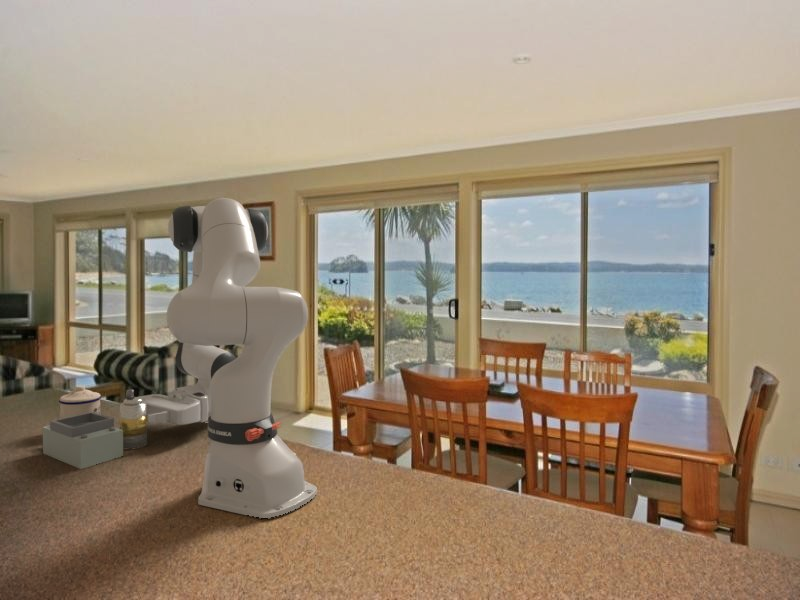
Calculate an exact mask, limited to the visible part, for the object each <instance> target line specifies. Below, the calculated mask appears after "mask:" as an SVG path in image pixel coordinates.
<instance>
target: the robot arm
mask: <svg viewBox="0 0 800 600" xmlns="http://www.w3.org/2000/svg"><path fill="white" fill-rule="evenodd" d="M167 232H168V235H169V239H170V241H171V242H172V245H173V246H174V248H175V249H177V250H179V251H183V252H187V253H192V252H193V254H192V255H193V257H192V278H191V284H190V285H188V286H187V287H184V288H183V289H181V290H179V291H178V292H176V294H175V295H173V297H172V298H171V300H170V302H169V304H168V306H167V311H166V323H167V327H168V329H169V331H170V333H171V334H172V336H173V337H174V338H175V339H176V340H177V341H178V342H179V343H178V344H179V345H178V347H177V351H176V353H175V364H176V367H177V369H178V370H179V371H180V372H181V373H182V374H185V375H188V376H191V377H193V378H196V379H197V382H195V383H194V384H189V385H185V386H181V387H176V388H175V389H174V390H172V393H171V394H170V395H165V394H162V393H153V394H147V395H142V396H141V395H139V397H141V398H143V401H146V409H147V415H146V416H145V422H147V424H152V423H160V422H162V423H163V422H166V423H170V424H173V425H174V424H175V425H177V426H183V425H190V424H194V423H204V422H207V437H208V438H209V446H208V449H207V451H206V455H205V460H204V470H203V479H202V486H201V487H202V488H201V492H200V495H199V496H198V497H197V498H198V499H197V504H198V505H199V506H203V507H206V508H207V507H208V508H212V509H217V510H221V511H226V512H229V513H235V514H240V515H242V516H243V515H244V516H247V515H249V516H248V517H252V516H254V517H253V518H256V517H259V518H258V519H261V518H268V519H272V518H271V517H274V516H277V517H280V516H279V515H281V516H284V515H286V514H288V512H289V513H291V512H294V511H296V510H298V509H299V508H301V507H303V506H305V505H306V504H308V503H309V502H310V500H311V499H312V500H313V499H314V498H315V497H316V496H317V494H318V487H317V486H316V485H314V484H313V483H310V482H308V481H306V480H305V469H304V465H303V462H302V460H301V459H300V458H299V457H298V456H297V454H296V453H295V452H294V451H292V450H291V449H290V448H289V446H288V445H287V444H286V443H285V442H284V441H283V440H282V439H281V438H280V436H279V435H278V429H279V428H282V425H281V423H282V421H278V422H276V421H275V419H274V415H273V413H272V412H271V406H272V405H271V400H272V399H271V398H272V397H271V396H272V384H273V376H274V372H275V370H276V369H275V368H276V366H277V364H278V362H279V360H280V358H281V356H282V355H283V353H284V351H285V350H286V349H287V348H288V347H290V344H292V343H293V342H294V341H296V340H297V338H299V337H300V336H301V335H302V334H303V333H304V331H305V329H306V328H307V325H308V321H309V307H308V303H307V302H306V300H305V298H304V297H303V295H302V294H301V293H300V292H299V291H298V290H294V289H290V288H285V287H280V286H279V287H278V286H247V285H249V284H250V283H251V282H252V281H253V280H254V279H256V277H257V276H258V275H259V272H260V269H261V258H260V254H259V251H261V250H262V249H263V248H265V246H266V243H267V240H268V236H269V227H268V223H267V220H266V216H265V215H264V214H263V212H262V211H260V210H257V209H254V208H246V209H245V207H244V206H243V205H242V204H241V203H240V202H239V201H237V200H235V199H233V198H229V197H218V198H216V199H213V200H210V201H209V202H208V203H207V204H206V205H198V206H197V205H196V206H191V205H183V206H179V207H176V208H175V209H174V210H173V211H172V212H171V215H170V217H169V220H168V225H167ZM232 345H243V346H242V347H243V348H242V351H241V352H240V353H239V355H238V356H237V357H236V356H235V354H233V353H232V352H230V351H228V350H225V349H223V348H221V347H220V348H219V347H217V346H232ZM315 495H316V496H315ZM312 500H311V501H312ZM307 502H308V503H307ZM304 504H305V505H304ZM302 505H303V506H302ZM300 506H301V507H300ZM295 509H296V510H295ZM290 511H291V512H290ZM285 513H286V514H285ZM283 514H284V515H283ZM274 518H275V517H274Z"/></svg>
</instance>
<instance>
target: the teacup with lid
mask: <svg viewBox="0 0 800 600" xmlns="http://www.w3.org/2000/svg"><path fill="white" fill-rule="evenodd" d="M101 399H102V396H101V393H99V392H95V391H92V390H90V389H86V387H85V385H77V386H76V387H75V390H72V391H70V392H69V393H68V394H64V395H62V396H61V397H60V398H59V401H58V402H59V407H60V409H59V410H60V411H59V413H60V415H59V416H60V418H59V419H62V418H66V417H71V416H75V415H80V414H84V413H89V412H94V413H98V414H101Z"/></svg>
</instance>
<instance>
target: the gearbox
mask: <svg viewBox="0 0 800 600" xmlns="http://www.w3.org/2000/svg"><path fill="white" fill-rule="evenodd" d="M49 423H50V424H49V425H45V426H43V427H42V452H43V453H42V454H44V455H46V456H48V457H51V458H53V459H56V460H58V461H60V462H63V463H65V464H67V465H70V466H72V467H75V468H77V469H79V470H83V469H87V468H89V467H93V466H96V464H97V465H99V463H100V464H102V462H103V463H106V462H109V460H110V461H113V460H115V459H114V458H116V459H118V457H119V458H122V457H121V456H123V457H124V449H123V430H122V429H120V428H118V427H116V426H115V419H114V417H111V416H108V415H105V414H101V413H100V414H98V413H94V412H89V413H84V414H80V415H75V416H71V417H66V418H62V419H60V418H59V419H54V420H53V419H52V420H50V421H49ZM112 459H113V460H112Z"/></svg>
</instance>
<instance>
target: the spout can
mask: <svg viewBox="0 0 800 600" xmlns="http://www.w3.org/2000/svg"><path fill="white" fill-rule="evenodd" d="M125 395H126V397H125V399H123V402H121V403H120V404H119V429H122V430H123V448H137V449H139V448H138V447H141V448H143V447H142V446H144V447H146V444H147V445H148V422H145V416H146V415H147V409H146V401H143V398H141V397H140V396H135V389H133V388H131V389H126V393H125Z"/></svg>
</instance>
